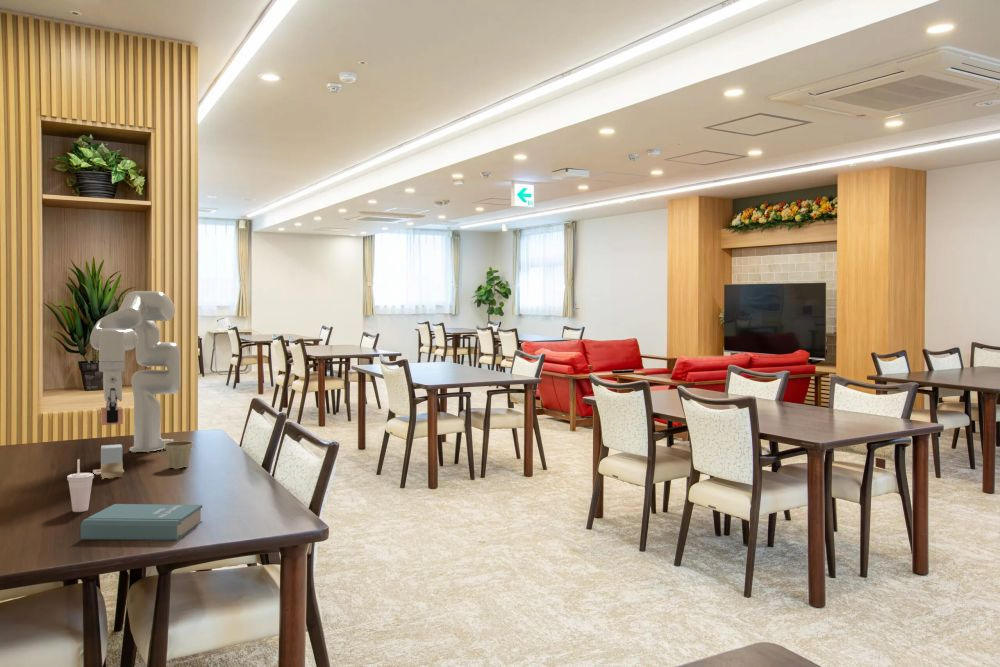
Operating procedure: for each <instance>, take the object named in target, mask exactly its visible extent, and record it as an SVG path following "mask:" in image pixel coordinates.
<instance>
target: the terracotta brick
mask: <svg viewBox="0 0 1000 667" xmlns="http://www.w3.org/2000/svg"><path fill="white" fill-rule="evenodd" d="M117 410H118V422H117V423H107V411H108V407H106V406H105V407H100V424H101V426H108V425H109V426H110V425H123V424H124V422H123V420H124V418H123V417H124V414H123V413H124V408H123V407H122V406H117Z"/></svg>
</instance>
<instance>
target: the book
mask: <svg viewBox="0 0 1000 667" xmlns="http://www.w3.org/2000/svg"><path fill="white" fill-rule="evenodd" d="M202 508H203V504H157V503H156V504H152V503H147V504H145V503H143V504H142V503H141V504H140V503H139V504H138V503H114V504H112V505H110V506H108V507H106V508H104V509H102V510H100V511H98V512H96V513H95V514H92V515H90V516H88V517H87V518H85V519H83V520H82V521H81V523H80V540H83V541H87V540H90V541H91V540H92V541H95V540H97V541H98V540H99V541H115V540H116V541H179V540H180V539H182V537H184V536H185V535H187V534H188V533H189V532H191V531H192V530H193V529H195V528H197V527H198V526H199V525H200V524H202V523H203V520H201V515H202V514H201V510H202Z"/></svg>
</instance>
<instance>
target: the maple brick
mask: <svg viewBox="0 0 1000 667" xmlns="http://www.w3.org/2000/svg"><path fill="white" fill-rule="evenodd" d="M123 465H124V462H123V461H122V462H120V463H107V464H102V463H101V462H100V469H101V474H100V478H101V477H102V478H101V480H105V479H104V478H108V479H114V477H119V478H123V477H124V476H123V474H124V472H123V470H124V468H123Z"/></svg>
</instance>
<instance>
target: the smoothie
mask: <svg viewBox="0 0 1000 667" xmlns="http://www.w3.org/2000/svg"><path fill="white" fill-rule="evenodd" d="M80 463H81V461H80V458H78V459H77V464H76V465H77V470H76V471H77V472H76V473H71V474H68V475H67V476H66V477H67V478H66V480H67V481H68V486H69V487H68V488H69V494H70V501H71V509H72V512H73V513H82V512H86V511H88V510H89V505H90V500H91V492H92V485H93V479H94V478H95V475H94V474H93V472H92V473H91V472H81V470H80V469H81V467H80V466H81V464H80Z"/></svg>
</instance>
